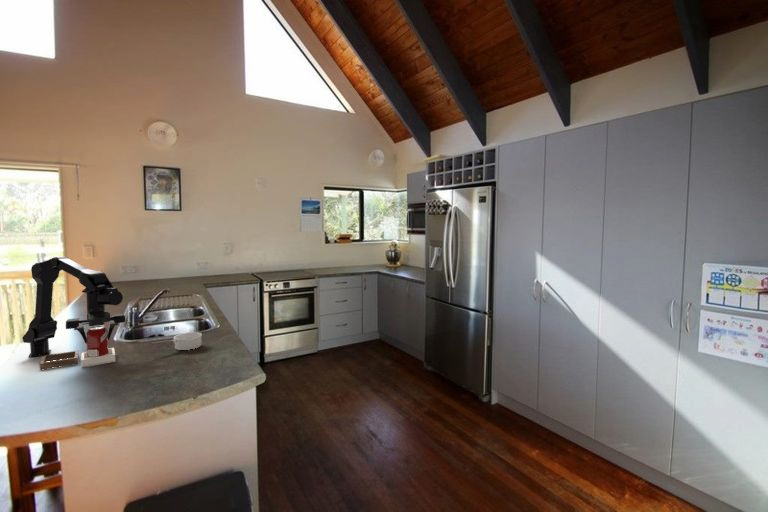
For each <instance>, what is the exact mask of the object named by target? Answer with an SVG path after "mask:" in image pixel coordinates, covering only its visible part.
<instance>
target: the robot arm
mask: <svg viewBox="0 0 768 512" xmlns="http://www.w3.org/2000/svg"><path fill="white" fill-rule="evenodd" d="M30 271H31V278H32V279H33V280H34V281H35V283H36V293H35V295H36V296H35V309H34V310H35V312H34V314H35V315H34V317H33V318H32V320H31V321H30V323H29V324H28V330H27V331H26V332H25V333H24V335H23V336H22V342H23V343H27V344H29V347H30V348H29V349H30V353H29V355H28V358H35V356H36V357H41V355H42V356H45V355H51V353H52V352H51V351H52V350H51V349H50V345H49V339H54V338H55V335H56V332H57V330H58V327H57V325H58V321H57V320H56V319H55V320H54V318H53V317H52V309H53V308H52V306H53V305H52V304H53V293H54V292H53V291H54V283H55V282H56V281H57V279H58V278H59V275H60V272H61V271H63V272H65V273H67V274H69V275H71V276H73V277H74V278H76V279H78V281H79V284H80V285H82V286H83V287H84V289H82V290H81V293H85V294H86V296H85V297H86V319H81V320H80V317H76V318H68V319H67V320H66V321H65V330H71V329H73V331H78V332H79V334H80V335H81V337H82V340H83V341H84V343H85V344H86V345H87V335H86V333H87V332H86V329H85V328H86V327H85V325H88V327H94V326H104V325H105V323H108V329H107V330H108V341H110V338H111V335H112V333H113V331H114V329H115V327H116V326H119V324H121V323H126V314H125V313H115V314H112V316H111V311H106V306H118V305H120V304H121V303H122V301H123V299H124V296H123V294H122V292H121V291H119V290H118V289H119V288H118V287H114V285H113V283H112V282H111V281H110V279H109V277H107V276H108V275H107V274H106V273H104V272H103V271H99V270H94V269H90V268H86V267H85V266H83V265H82V264H79V263H78V262H75V261H74V260H71V259H70V258H69V257H67V256H53V257H51V258H50V259H48V260H43V261H40V262H35V263H34V264H32V266H31V269H30Z"/></svg>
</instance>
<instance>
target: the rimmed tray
mask: <svg viewBox="0 0 768 512" xmlns="http://www.w3.org/2000/svg"><path fill="white" fill-rule="evenodd" d="M115 351H116V350H115V347H110V348H109V347H108V352H109V353H108V354H107V355H105V356H99V357H93V358H89V357H88V356H87V351H85V352H81V356H80V365H81V368H87V367H93V366H99V365H105V364H110V363H115V362H116V352H115Z"/></svg>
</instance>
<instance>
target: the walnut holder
mask: <svg viewBox="0 0 768 512" xmlns="http://www.w3.org/2000/svg"><path fill="white" fill-rule="evenodd" d="M74 357H75V358H74ZM79 357H80V353H79V350H72V351H67V352H65V351H64V352H59V353H53V354H51V353H50V354H49V355H42V357H41V360H40V362H39V371H43V370H42V369H45V370H48V369H47V368H51V369H53V368H52V367H57V368H60V367H59V366H63V367H67V366H66V365H69V366H74V365H79ZM67 358H68V359H67ZM60 359H62V360H60ZM53 360H56V361H53ZM46 361H50V362H46ZM73 364H74V365H73Z"/></svg>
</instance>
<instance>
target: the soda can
mask: <svg viewBox="0 0 768 512" xmlns="http://www.w3.org/2000/svg"><path fill="white" fill-rule="evenodd" d="M87 329H88V330H87V331H86V332H85V333H86V338H87V344H86V352H87V356H88V357H89V358H93V357H99V356H105V355H107V354H108V353H109V352H108V348H109V340H108V329H107V328H106V325H95V326H89V327H88V328H87Z"/></svg>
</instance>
